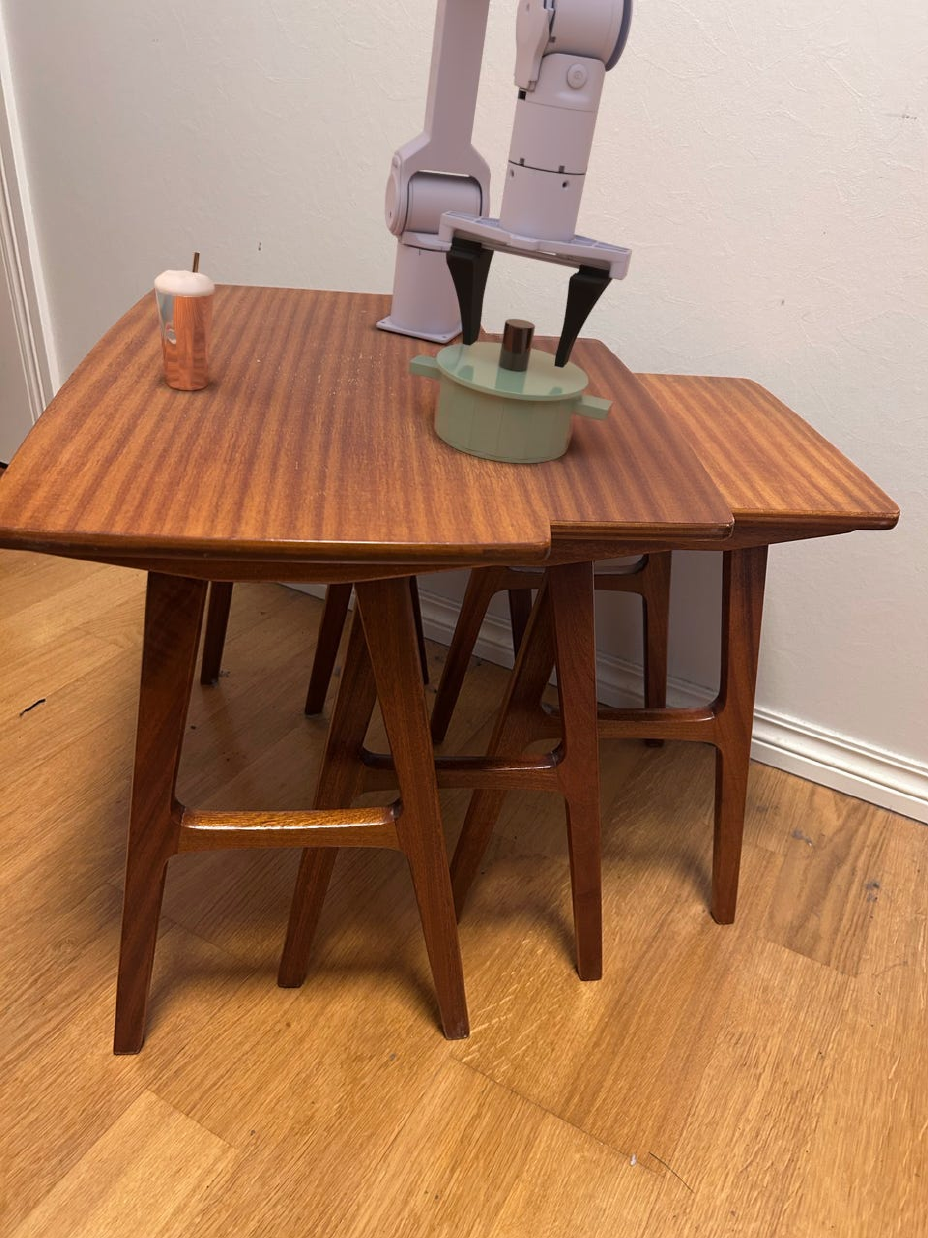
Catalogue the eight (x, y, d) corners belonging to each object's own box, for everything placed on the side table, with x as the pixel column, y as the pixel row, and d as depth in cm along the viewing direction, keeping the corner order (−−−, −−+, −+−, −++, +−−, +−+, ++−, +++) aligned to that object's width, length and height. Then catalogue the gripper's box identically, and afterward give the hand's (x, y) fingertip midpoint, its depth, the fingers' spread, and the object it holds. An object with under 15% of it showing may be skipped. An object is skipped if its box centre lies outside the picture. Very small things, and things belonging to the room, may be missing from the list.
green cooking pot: (430, 392, 84) (438, 333, 81) (610, 437, 80) (624, 377, 77) (383, 431, 74) (389, 366, 71) (583, 484, 71) (598, 418, 68)
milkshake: (225, 376, 80) (225, 256, 74) (204, 397, 75) (202, 270, 70) (173, 367, 80) (169, 247, 74) (149, 387, 75) (143, 260, 70)
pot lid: (462, 344, 81) (470, 291, 78) (598, 377, 78) (611, 323, 76) (412, 383, 71) (419, 322, 68) (567, 421, 68) (580, 361, 66)
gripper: (434, 151, 64) (413, 344, 72) (636, 191, 61) (593, 387, 69) (465, 145, 70) (442, 324, 77) (651, 181, 67) (609, 363, 75)
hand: (515, 352), depth 73 cm, fingers open, 7 cm apart
